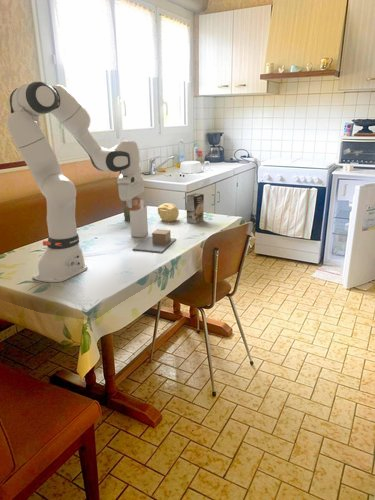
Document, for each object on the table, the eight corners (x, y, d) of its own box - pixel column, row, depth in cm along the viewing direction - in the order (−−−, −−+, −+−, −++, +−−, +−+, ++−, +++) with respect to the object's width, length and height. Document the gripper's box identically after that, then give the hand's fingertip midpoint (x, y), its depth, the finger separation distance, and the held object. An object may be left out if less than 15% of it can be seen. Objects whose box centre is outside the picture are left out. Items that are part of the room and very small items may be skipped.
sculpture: (155, 221, 227) (154, 203, 224) (167, 217, 236) (167, 200, 233) (170, 224, 221) (170, 206, 217) (182, 219, 230) (182, 202, 227)
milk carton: (144, 237, 197) (142, 201, 191) (131, 236, 199) (128, 201, 192) (148, 233, 204) (146, 198, 198) (135, 232, 205) (133, 198, 199)
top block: (136, 210, 175) (135, 200, 173) (126, 210, 177) (125, 200, 175) (141, 208, 180) (140, 197, 178) (131, 207, 181) (130, 197, 179)
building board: (162, 253, 175) (161, 241, 173) (132, 250, 179) (131, 238, 177) (176, 240, 193) (175, 229, 191) (148, 237, 197) (148, 227, 195)
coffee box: (195, 223, 221) (195, 196, 215) (186, 222, 224) (186, 195, 219) (203, 220, 228) (203, 194, 222) (195, 218, 231) (195, 193, 226)
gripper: (134, 172, 183) (136, 200, 188) (114, 180, 165) (118, 211, 169) (146, 173, 181) (148, 201, 186) (128, 180, 163) (130, 211, 168)
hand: (133, 206), depth 178 cm, fingers closed on top block, 5 cm apart
